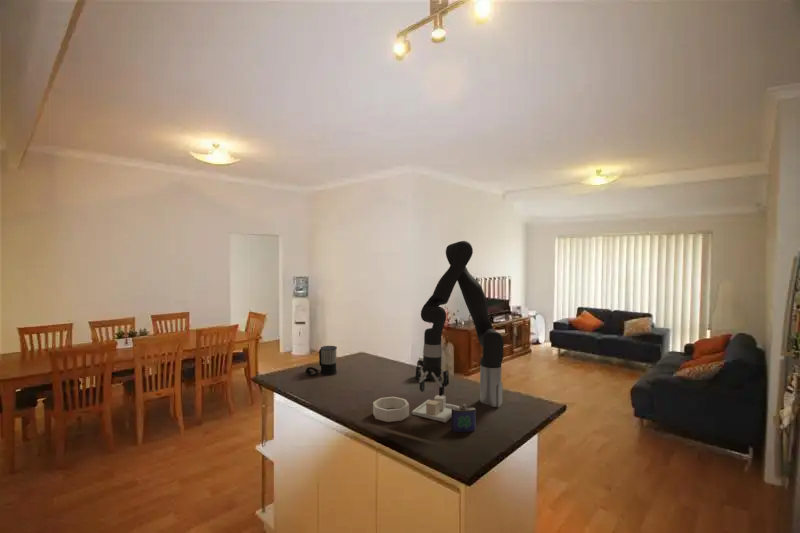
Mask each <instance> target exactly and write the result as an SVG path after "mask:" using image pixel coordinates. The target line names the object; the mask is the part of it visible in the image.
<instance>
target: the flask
mask: <svg viewBox="0 0 800 533" xmlns="http://www.w3.org/2000/svg"><path fill="white" fill-rule="evenodd" d="M476 411H477V410H476V408H475V407H467V405H466V403H462V406H460V408H459V407H458V408H457V407H456V408H453V409H452V417H451V431H452V432H456V433H457V432H458V433H464V432H465V433H467V432H474V431H477V430H476V429H477V428H476V426H477V424H476V422H477V419H476V416H477V415H476Z"/></svg>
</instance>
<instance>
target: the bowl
mask: <svg viewBox="0 0 800 533" xmlns="http://www.w3.org/2000/svg"><path fill="white" fill-rule="evenodd" d="M372 413H373V414H372V415H373V416H374V418H375V420H379V421H383V422H387V423H390V422H391V423H392V422H398V421H399V422H401V421H404V420H405V419H406V418H408V417H409V416H410V403H409V402H408V401H407V399H405V398H402V397H398V396H397V397H396V396H388V397H380V398H378V399H376V400H375V401H373V402H372Z"/></svg>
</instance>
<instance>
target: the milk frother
mask: <svg viewBox="0 0 800 533" xmlns="http://www.w3.org/2000/svg"><path fill="white" fill-rule="evenodd" d="M337 348H338V347H337V346H335V345H325V346H321V347H320V349H319V351H318V356H319V357H318V358H319V359H318V360H319V363H318V364H319V366H320V370H319V369H317V368H315V367H312V366H310V367H307V368H306V369H305V374H306V375H307V376H309V377H315V376H317V375H318V373H319V372H320V375H322V376H334V375H336V374H337ZM313 371H314V372H315V373H313Z"/></svg>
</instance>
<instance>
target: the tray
mask: <svg viewBox="0 0 800 533" xmlns="http://www.w3.org/2000/svg"><path fill="white" fill-rule="evenodd" d="M430 400H431V399H427V400H425V401H424V402H422V403H421V404H420V405H419V406H417V407H416V408H414V409H413V410H412V412H411V414H412V415H413V416H418V417H423V418H426V419H430V420H435V421H437V422H438V421H439V422H443V423H447V422H448V421H449V420H450V419H452V409H453V408H456V407H457V408H458V407H459V408H461V406H459V405H455V404H450V403H446V408H445V409H444V411H439V414H438V415H437V416H434V415H430V414H426V403H427V402H428V401H430Z"/></svg>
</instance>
